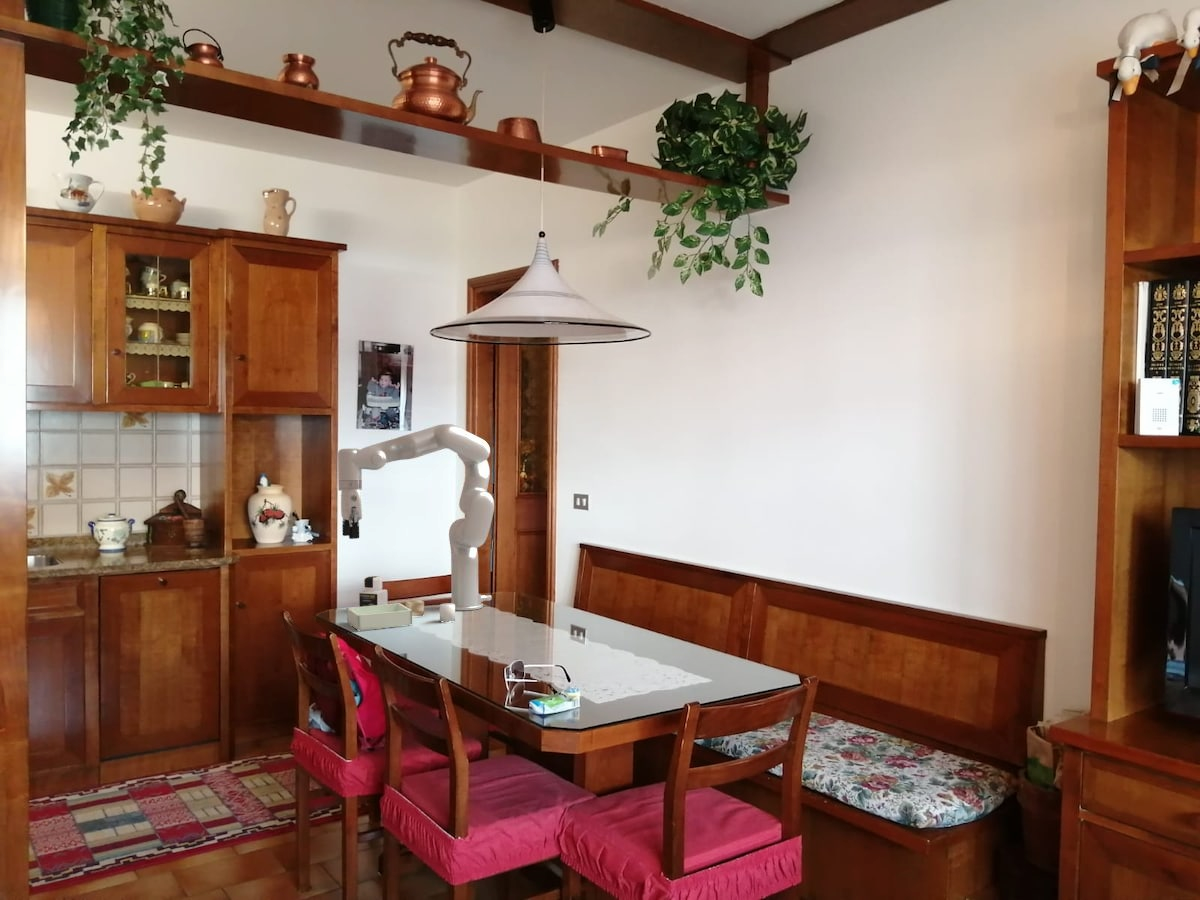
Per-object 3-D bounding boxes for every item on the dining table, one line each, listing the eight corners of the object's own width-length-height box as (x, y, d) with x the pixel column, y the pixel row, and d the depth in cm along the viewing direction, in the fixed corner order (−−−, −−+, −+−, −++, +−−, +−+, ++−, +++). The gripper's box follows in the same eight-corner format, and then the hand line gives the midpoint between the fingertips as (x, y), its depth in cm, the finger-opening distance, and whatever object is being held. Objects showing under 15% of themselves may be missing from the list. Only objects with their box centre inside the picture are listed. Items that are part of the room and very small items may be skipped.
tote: (399, 617, 310) (399, 603, 310) (412, 625, 297) (412, 610, 297) (347, 623, 301) (347, 608, 301) (358, 631, 289) (357, 615, 289)
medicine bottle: (359, 612, 319) (358, 578, 319) (370, 608, 326) (369, 575, 326) (377, 613, 317) (377, 579, 317) (388, 609, 324) (387, 575, 323)
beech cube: (419, 614, 316) (419, 599, 316) (424, 616, 311) (424, 602, 311) (405, 615, 313) (405, 601, 313) (409, 618, 309) (409, 603, 309)
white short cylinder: (452, 619, 307) (452, 602, 307) (457, 621, 303) (457, 605, 303) (437, 620, 305) (437, 604, 305) (442, 623, 300) (442, 606, 300)
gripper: (367, 486, 300) (368, 539, 300) (355, 484, 315) (356, 533, 316) (344, 487, 296) (345, 540, 297) (333, 484, 312) (333, 535, 312)
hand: (350, 537), depth 306 cm, fingers open, 9 cm apart
